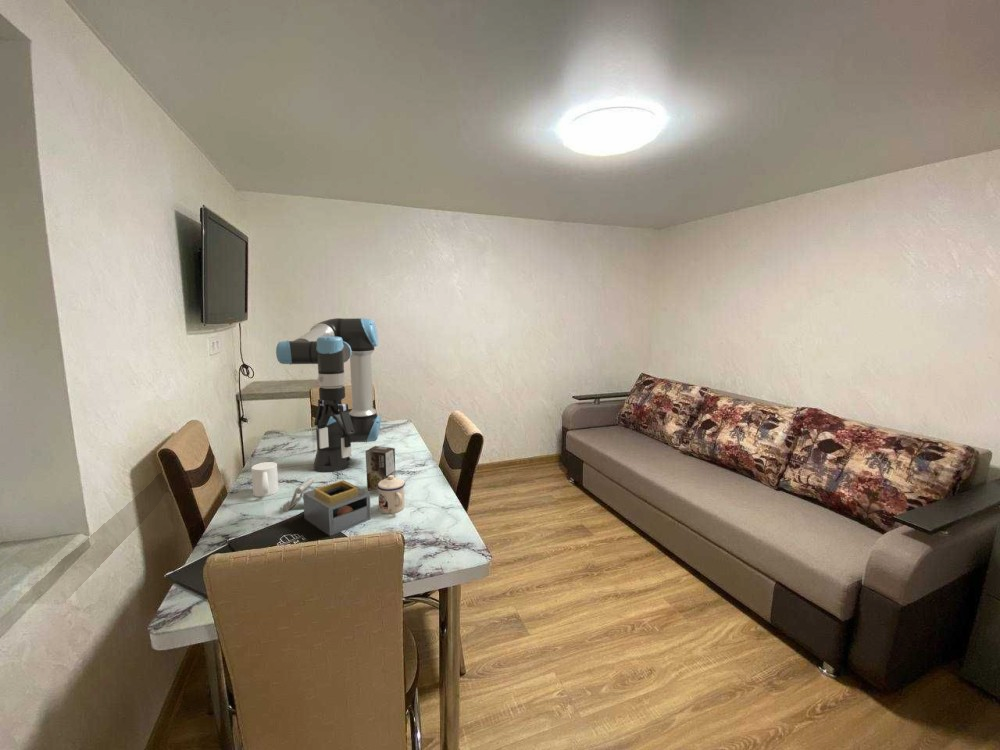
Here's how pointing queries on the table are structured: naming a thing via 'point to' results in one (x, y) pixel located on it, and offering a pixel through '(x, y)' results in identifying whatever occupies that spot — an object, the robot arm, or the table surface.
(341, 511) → the ball terracotta
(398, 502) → the teacup with lid
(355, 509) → the grey slotted box
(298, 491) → the portable electronic device stand
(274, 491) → the mug
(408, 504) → the table surface
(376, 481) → the coffee box
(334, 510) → the ball teal
